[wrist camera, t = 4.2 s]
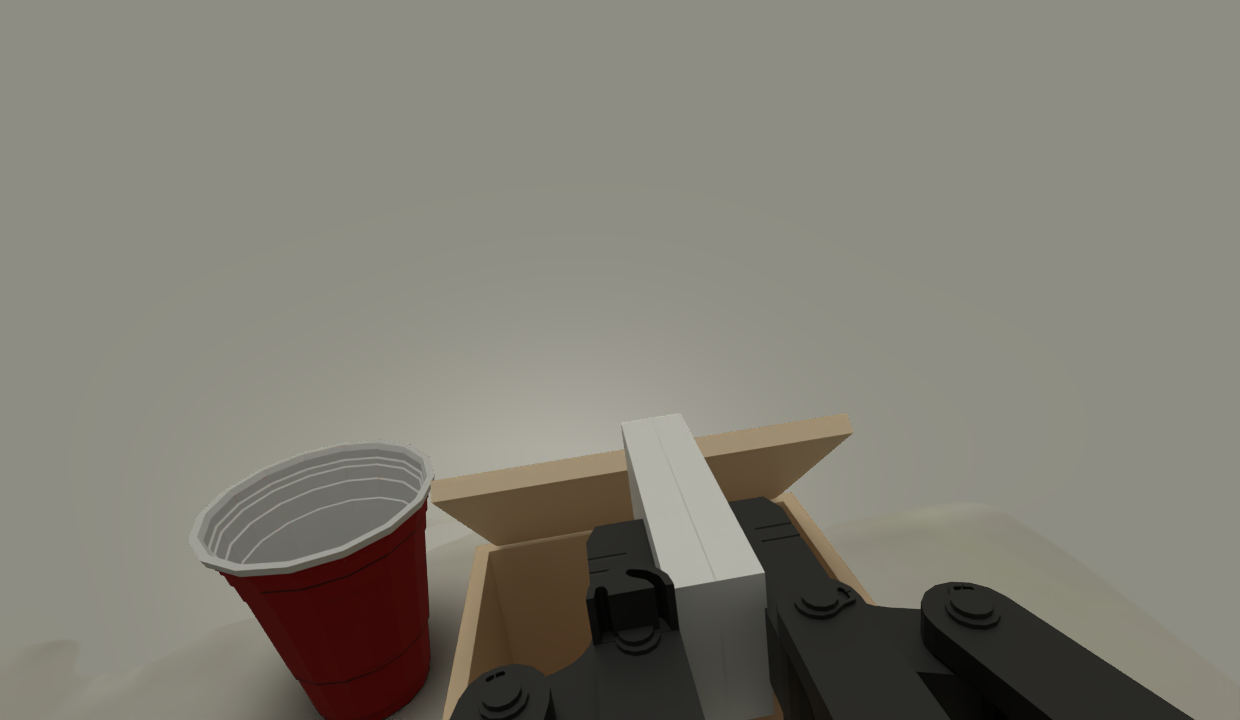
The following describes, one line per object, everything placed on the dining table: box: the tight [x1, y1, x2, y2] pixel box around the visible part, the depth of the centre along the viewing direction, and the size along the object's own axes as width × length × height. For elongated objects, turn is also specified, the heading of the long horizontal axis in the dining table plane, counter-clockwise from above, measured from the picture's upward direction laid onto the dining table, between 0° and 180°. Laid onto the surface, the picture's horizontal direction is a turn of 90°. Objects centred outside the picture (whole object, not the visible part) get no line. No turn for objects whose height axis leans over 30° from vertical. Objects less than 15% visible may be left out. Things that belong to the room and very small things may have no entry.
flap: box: [430, 413, 853, 546], centre depth 23 cm, size 12×1×10 cm
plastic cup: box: [188, 440, 435, 720], centre depth 32 cm, size 11×11×12 cm
